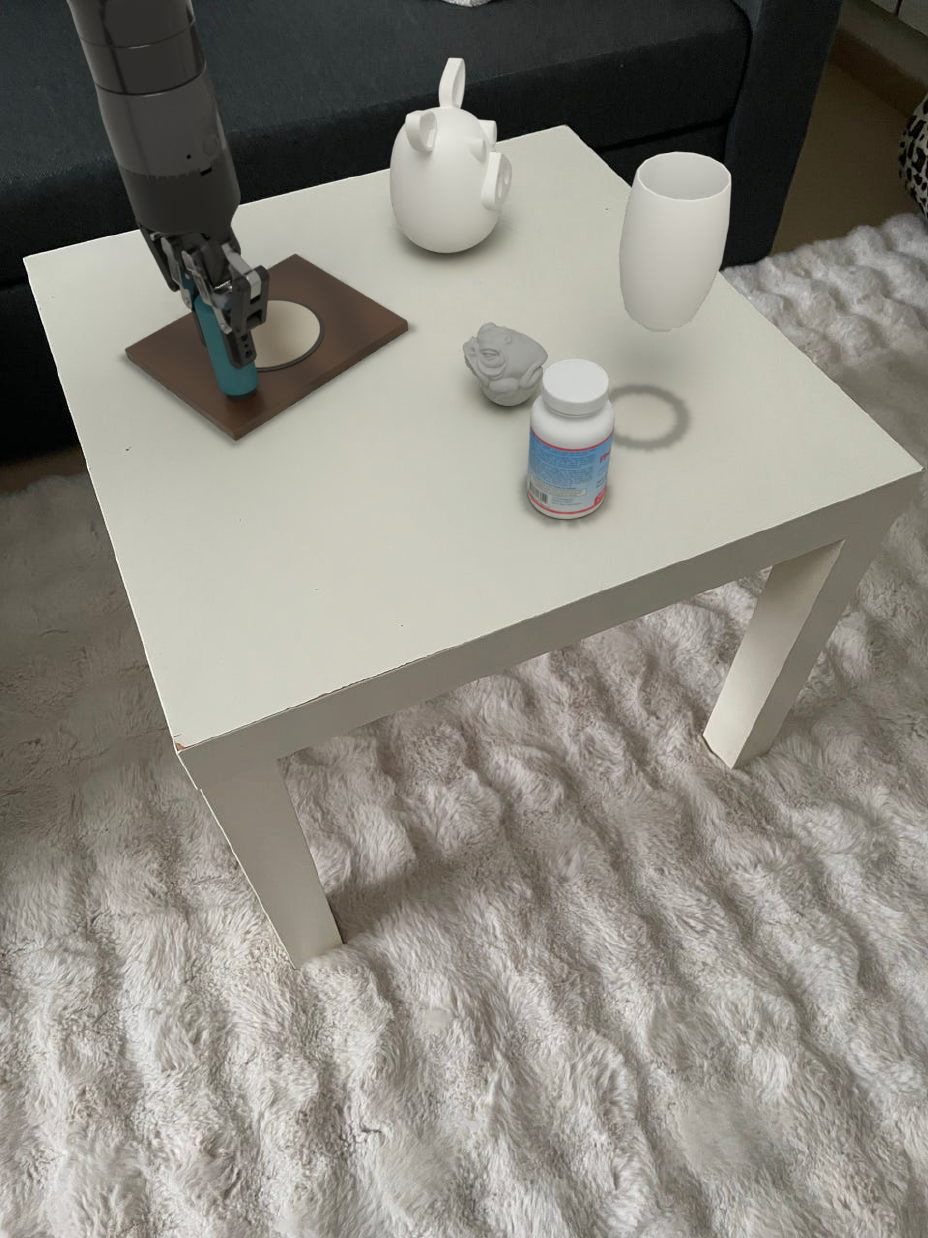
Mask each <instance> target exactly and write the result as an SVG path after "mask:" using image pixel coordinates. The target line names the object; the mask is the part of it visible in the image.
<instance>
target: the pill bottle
mask: <svg viewBox="0 0 928 1238" xmlns="http://www.w3.org/2000/svg"><path fill="white" fill-rule="evenodd" d="M609 387H610V378H609V375H608V373H607V372H606V370H605V369H604V368H603V367H601V366H600V365H599V364H597V363H595V362H593V361H591V360H587V359H582V358H566V359H562V360H559V361H556V362H554V363H553V364H551V365H549V366H548V367H547V368H546V370H545V371H543V375H542V379H541V387H540V395H538V396H537V397H536V399H535V400H534V402H533V404H532V407H531V409H530V415H529V429H528V455H527V460H528V461H527V480H526V481H527V482H526V491H527V497H528V500H529V501H530V502H531V505H532V506H534V508H536V509H537V510H538V511H539V512H540V513H542V514H544V515H546V516H547V517H549V518H550V517H551V518H554V519H559V520H572V519H577V518H582V517H584V516H588V515H589V514H591V513H593V512H594V511H596V510H597V509H599V507H600V506H601V504H602V503H603V501H604V498H605V495H606V490H607V482H608V477H609V475H608V474H609V468H610V460H611V454H612V453H611V452H612V445H613V439H614V438H613V437H614V431H615V422H616V414H615V410H614V406H613V404H612V402H611V401H610V399H609V394H610V393H609V389H610V388H609Z"/></svg>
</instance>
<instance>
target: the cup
mask: <svg viewBox="0 0 928 1238" xmlns="http://www.w3.org/2000/svg"><path fill="white" fill-rule="evenodd" d="M731 193H732V175H731V172H730V171H729V170H728V168H726V166H725V164H723V163H722V162H719V161H717V160H716V159H714V158H712V157H711V156H706V155H704V154H699V153H695V152H684V151H673V152H668V153H659V154H656V155H654V156H652V157H650V158H648V159H645V160H644V161H643V162H642V163H641V164H640V165H639V167H638V168H637V169H636V171H635V175H634V178H633V182H632V186H631V189H630V192H629V196H628V200H627V202H626V206H625V211H624V219H623V222H622V223H623V224H622V229H621V237H620V242H619V251H618V264H619V265H618V266H619V286H620V291H621V297H622V302H623V306H624V310H625V311H626V313H627V314H628V316H629V318H630V319H632V320H633V321H634V322H636V323H637V324H639V325H640V326H642V327H643V328H644V329H645V330H647V331H650V332H653V333H666V332H670V331H672V330H673V329H677V328H682V327H683V326H685V325H687V324H689V323H691V322H692V321H693V319H694V318H695V317H696V315H697V314H698V312H699V310H700V309H701V308H702V306H703V304H704V302H705V301H706V299H707V297H708V296H709V294H710V293H711V290H712V288H713V285H714V283H715V280H716V277H717V275H718V273H719V271H720V268H721V266H722V263H723V258H724V251H725V247H726V242H727V235H728V231H729V225H730V208H731V195H732V194H731Z"/></svg>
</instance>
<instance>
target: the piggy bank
mask: <svg viewBox="0 0 928 1238" xmlns="http://www.w3.org/2000/svg"><path fill="white" fill-rule="evenodd" d="M465 85H466V64H465V60H464V59H463V58H462V57H449V58H448V59H447V62H446V65H445V67H444V70H443V71H442V75H441V77H440V80H439V86H438V102H439V106H438V107H432V108H428V109H425V110H415V111H412V112H410V113H407V114H406V116H405V121H404V123H403V124H402V126H401V128H400V129H399V131H398V133H397V135H396V138H395V140H394V144H393V146H392V150H391V157H390V164H389V195H390V202H391V203H390V204H391V208H392V211H393V215H394V218H395V220H396V222H397V225H398V226H399V228H400V230H401V231H402V232H403V234H404V235H405V236H406V237H407V238H408V239H409V240H410V241H411V242H412V243H414V244H415V245H416V246H418V247H420V248H422V249H424V250H428V251H431V252H435V253H439V254H442V253H443V254H450V253H451V254H452V253H458V252H462V251H465V250H468V249H471V248H472V247H474V246H477V245H478V244H479V243H482V241H484V240H485V239H486V238H487V237H488V236H489V235H490V234H491V232H492V231H493V230H494V229H495V226H497V223H498V221H499V219H500V216H501V213H502V209H503V205H504V203H505V202H506V200H507V198H508V195H509V193H510V189H511V186H512V180H513V179H512V178H513V169H512V164H511V161H510V160H509V158H508V157H507V156H506V155H505V154H504V153H503V152H500V151H498V152H497V151H496V149H495V145H496V144H497V138H498V127H497V123H496V121H495V120H487V119H479V118H478V117H476V116H475V115H473V113H471V112H469V111H467V110H464V109H462V108H461V107H462V104H463V100H464V95H465Z"/></svg>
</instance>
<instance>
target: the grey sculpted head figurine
mask: <svg viewBox="0 0 928 1238" xmlns="http://www.w3.org/2000/svg"><path fill="white" fill-rule="evenodd" d="M476 335H477V336H471V337H470V338H469V339H468V340H467V341H466V342H464V343H463V344H462V351H463V354H464V355H463V357H464V360H465V361H464V363H465V365H466V367H467V368H469V370H470V372H471V373H472V374H473V376H474V377H476V378H477V380H478V381H479V385H480V388H481V390H482V392H483V393H484V395H485V396H486V397H487V398H488V399H489V400H490V401H491V402H494V403H495V404H497V405H499V406H504V407H513V406H517V405H521V404H523V403H524V402H526V401H527V400H528V399H529V398H530V397H531V396H532V395H533V394H534V392H535V391H536V389H538V388H539V386H540V385H541V383H542V378H543V374H544V368H543V367H542V365H544V364H545V363H546V362H547V360H548V358H549V355H548V352H547V351H546V349H545V348H544V346H543V345H542V344H541V343H539V342H538V341H537V340H535V339H533V338H532V337H530V336H528V335H527V334H524V333H522V332H519V331H517V330H515V329H512V328H509V327H506V326H504V325H503V326H498V325H497V324H495V322H492V321H491V322H486V323H483V324H482V325H481V326H480V327H479V329H478V331H477V333H476Z"/></svg>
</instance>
